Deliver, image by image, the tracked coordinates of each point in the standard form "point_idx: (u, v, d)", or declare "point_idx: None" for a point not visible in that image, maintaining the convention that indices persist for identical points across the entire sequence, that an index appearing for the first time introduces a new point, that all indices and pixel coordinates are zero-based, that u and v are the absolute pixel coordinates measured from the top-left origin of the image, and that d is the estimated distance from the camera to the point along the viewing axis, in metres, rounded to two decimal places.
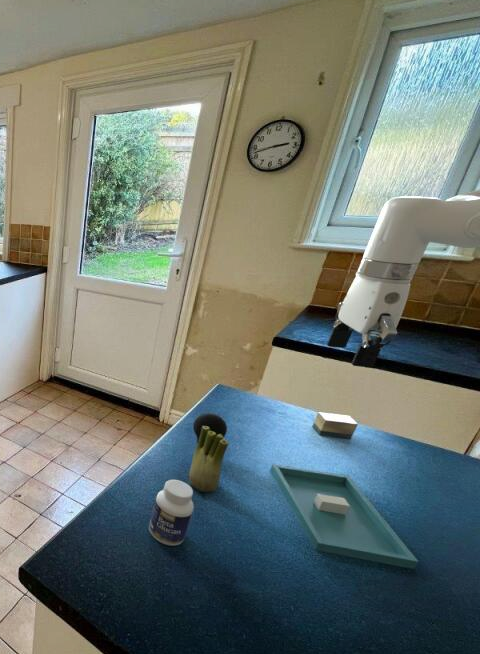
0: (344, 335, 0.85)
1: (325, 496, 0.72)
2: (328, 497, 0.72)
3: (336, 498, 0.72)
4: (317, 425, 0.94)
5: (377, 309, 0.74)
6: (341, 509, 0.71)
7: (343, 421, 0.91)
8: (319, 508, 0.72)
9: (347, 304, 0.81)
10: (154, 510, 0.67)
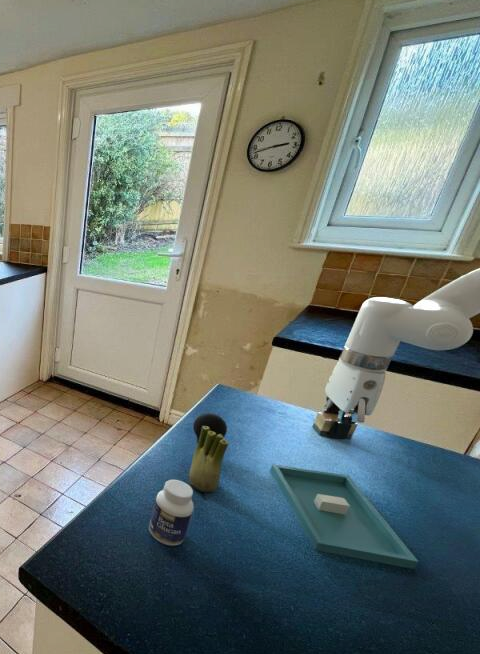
0: None
1: (325, 496, 0.72)
2: (328, 497, 0.72)
3: (336, 498, 0.72)
4: (317, 425, 0.94)
5: (357, 393, 0.84)
6: (341, 509, 0.71)
7: None
8: (319, 508, 0.72)
9: (332, 382, 0.92)
10: (154, 510, 0.67)
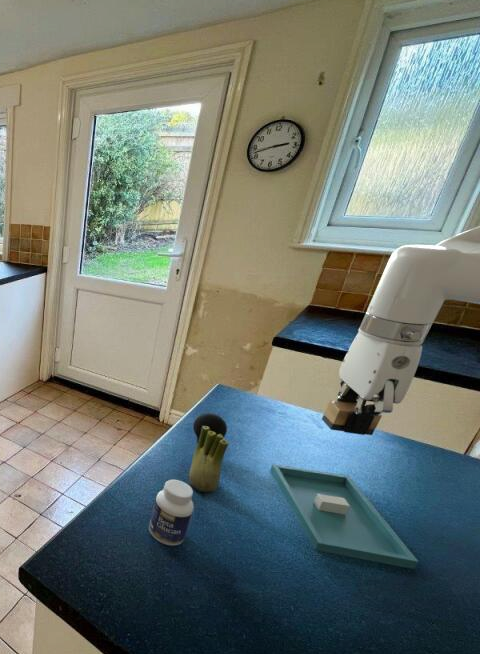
0: None
1: (325, 496, 0.72)
2: (328, 497, 0.72)
3: (336, 498, 0.72)
4: (328, 417, 0.73)
5: (383, 374, 0.64)
6: (341, 509, 0.71)
7: None
8: (319, 508, 0.72)
9: (348, 361, 0.71)
10: (154, 510, 0.67)
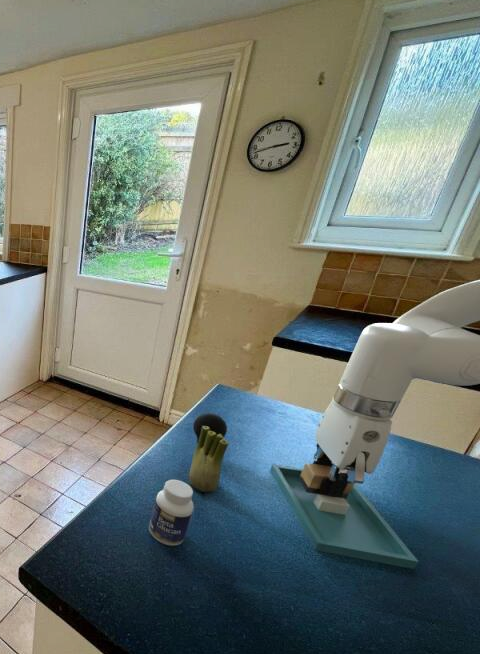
0: None
1: (325, 496, 0.72)
2: (328, 497, 0.72)
3: (336, 499, 0.71)
4: (304, 479, 0.75)
5: (354, 446, 0.65)
6: (341, 509, 0.71)
7: None
8: (319, 508, 0.72)
9: (323, 427, 0.72)
10: (154, 510, 0.67)
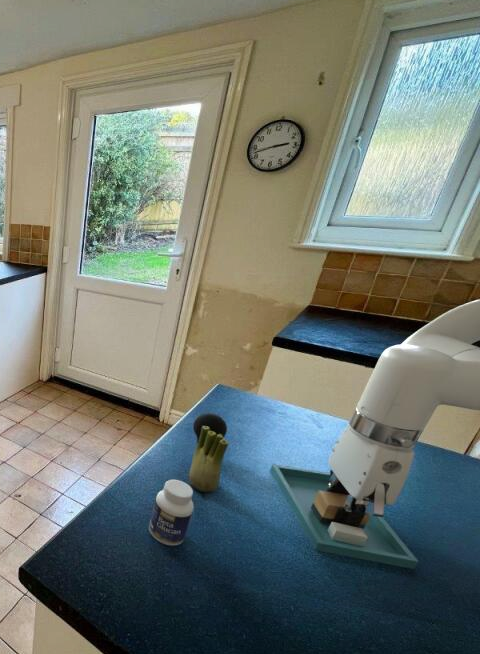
0: None
1: (341, 524, 0.66)
2: (344, 526, 0.66)
3: (353, 528, 0.66)
4: (317, 508, 0.70)
5: (373, 477, 0.61)
6: (357, 540, 0.65)
7: None
8: (333, 537, 0.66)
9: (338, 453, 0.68)
10: (154, 510, 0.67)
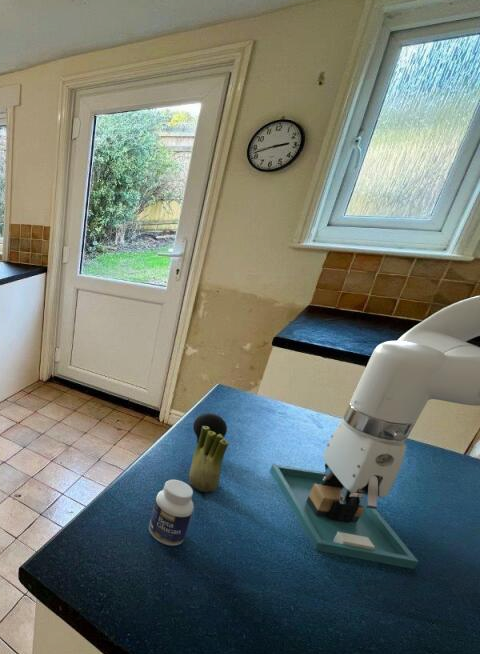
0: None
1: (347, 534, 0.65)
2: (350, 536, 0.64)
3: (359, 538, 0.64)
4: (313, 501, 0.72)
5: (367, 470, 0.62)
6: None
7: None
8: None
9: (333, 447, 0.69)
10: (154, 510, 0.67)
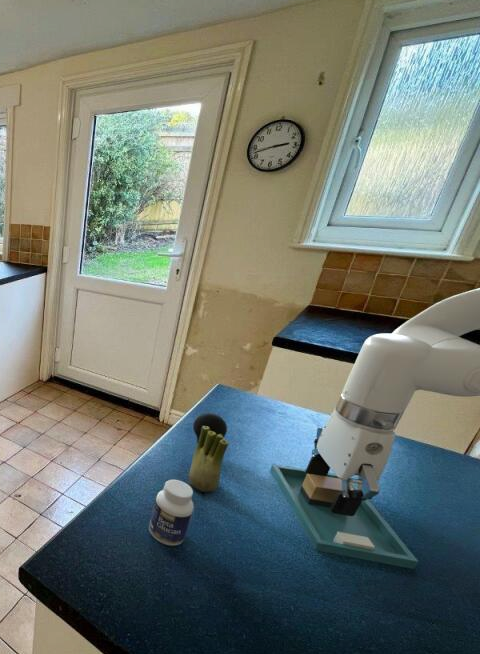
0: (324, 465, 0.76)
1: (347, 534, 0.65)
2: (350, 536, 0.64)
3: (359, 538, 0.64)
4: (306, 490, 0.74)
5: (357, 458, 0.65)
6: None
7: (339, 488, 0.71)
8: None
9: (325, 437, 0.72)
10: (154, 510, 0.67)
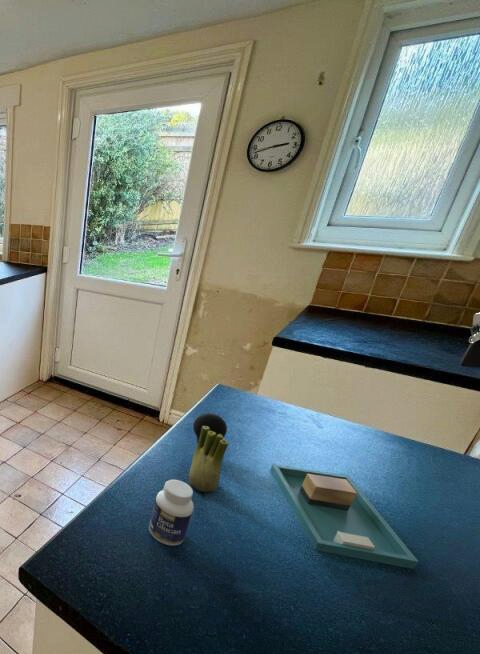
0: None
1: (347, 534, 0.65)
2: (350, 536, 0.64)
3: (359, 538, 0.64)
4: (306, 490, 0.74)
5: None
6: None
7: (339, 488, 0.71)
8: None
9: None
10: (154, 510, 0.67)
